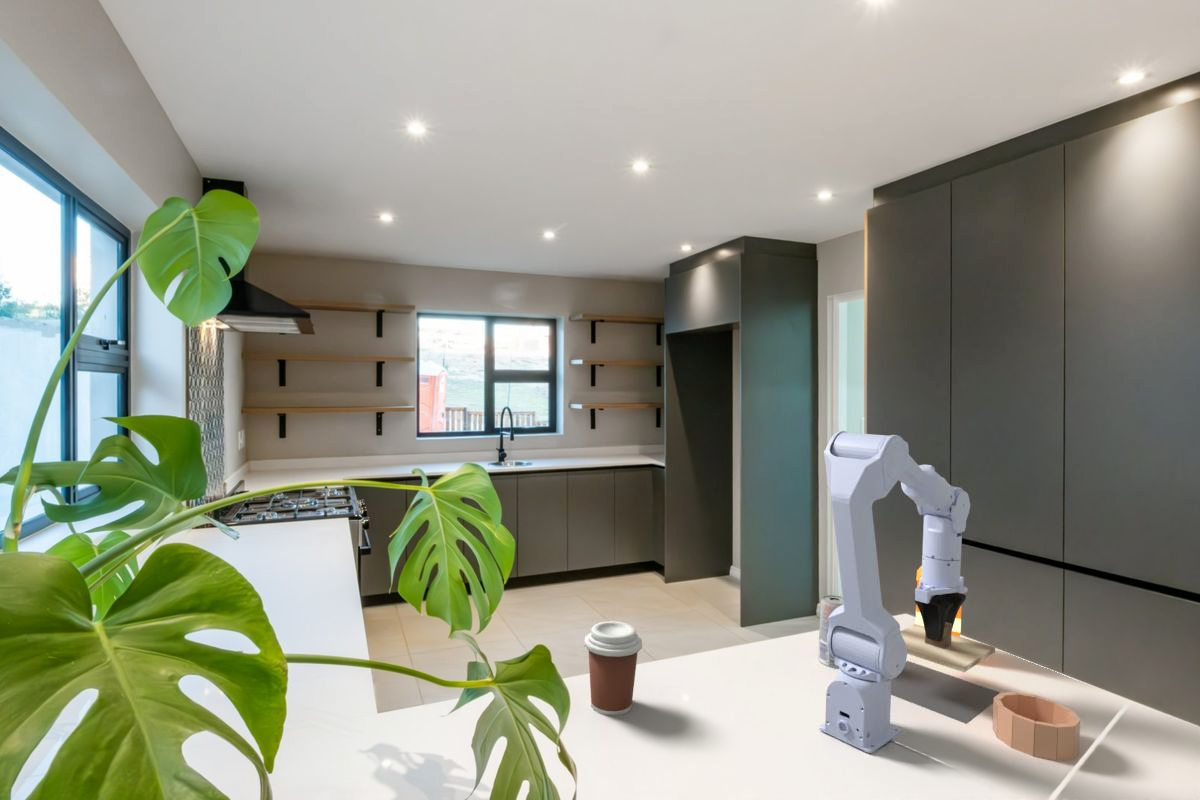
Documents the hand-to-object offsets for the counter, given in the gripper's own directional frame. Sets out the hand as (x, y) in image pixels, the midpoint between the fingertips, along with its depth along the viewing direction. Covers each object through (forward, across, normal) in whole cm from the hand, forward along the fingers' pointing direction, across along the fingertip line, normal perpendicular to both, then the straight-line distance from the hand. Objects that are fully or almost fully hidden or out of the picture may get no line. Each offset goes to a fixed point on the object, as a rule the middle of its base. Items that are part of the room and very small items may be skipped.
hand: (938, 637), depth 107 cm
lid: (+2, 0, 0) cm, 2 cm away
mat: (+9, 0, 0) cm, 9 cm away
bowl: (+9, -5, -16) cm, 19 cm away
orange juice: (+10, +18, +7) cm, 22 cm away
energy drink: (+10, -4, +16) cm, 19 cm away
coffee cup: (+10, -47, +30) cm, 56 cm away
